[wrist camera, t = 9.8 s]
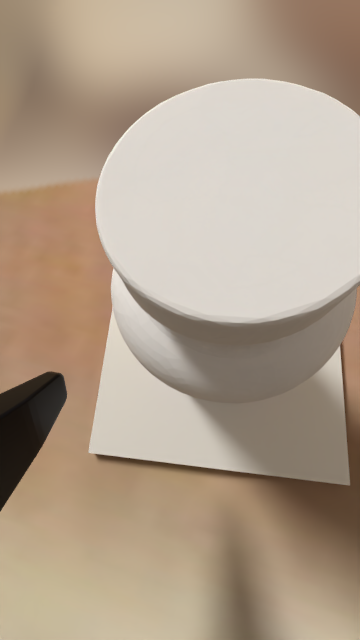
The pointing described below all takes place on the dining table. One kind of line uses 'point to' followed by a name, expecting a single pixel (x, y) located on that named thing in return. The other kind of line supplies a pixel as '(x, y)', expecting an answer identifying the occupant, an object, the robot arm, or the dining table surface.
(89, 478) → the dining table surface
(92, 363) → the dining table surface
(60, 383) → the robot arm
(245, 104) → the supplement bottle
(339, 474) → the white mat
